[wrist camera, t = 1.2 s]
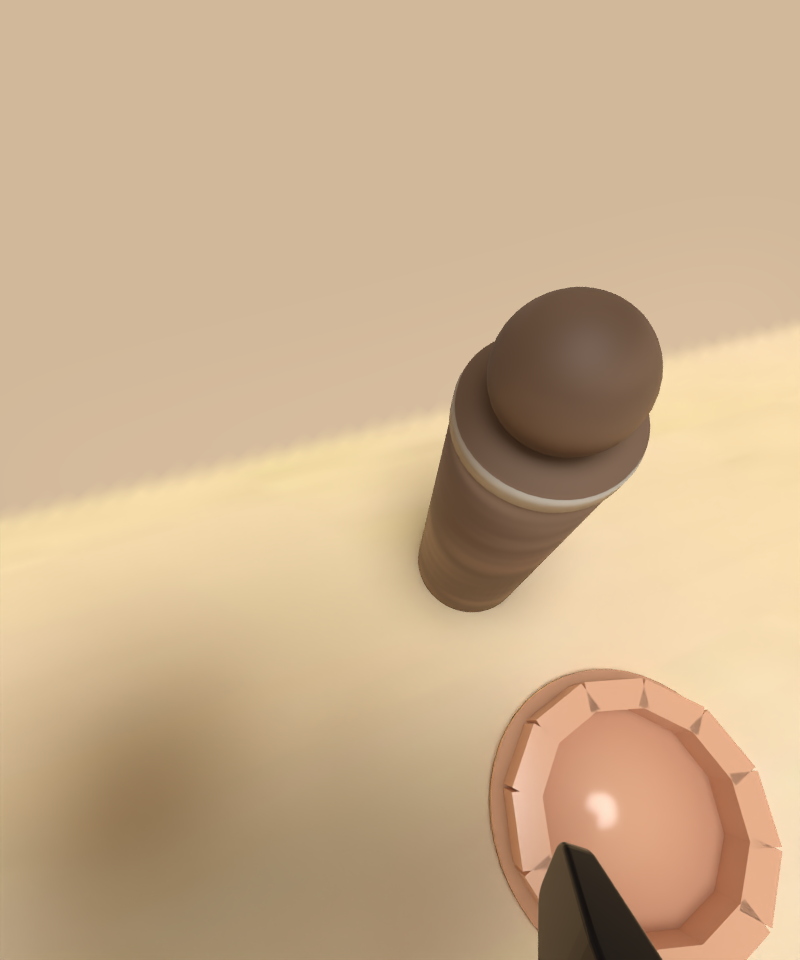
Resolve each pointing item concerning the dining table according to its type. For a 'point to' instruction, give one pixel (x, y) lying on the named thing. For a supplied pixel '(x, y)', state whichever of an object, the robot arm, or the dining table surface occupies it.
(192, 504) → the dining table surface
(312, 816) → the dining table surface
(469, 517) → the pepper mill
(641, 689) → the dish
